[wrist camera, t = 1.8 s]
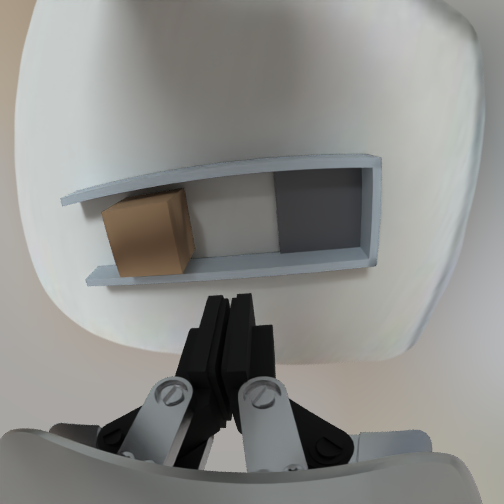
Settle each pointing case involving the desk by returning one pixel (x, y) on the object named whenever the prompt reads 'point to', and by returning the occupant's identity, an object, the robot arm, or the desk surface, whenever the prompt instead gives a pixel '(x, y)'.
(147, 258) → the walnut block
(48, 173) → the desk surface
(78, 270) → the desk surface
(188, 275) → the channel
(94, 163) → the desk surface
